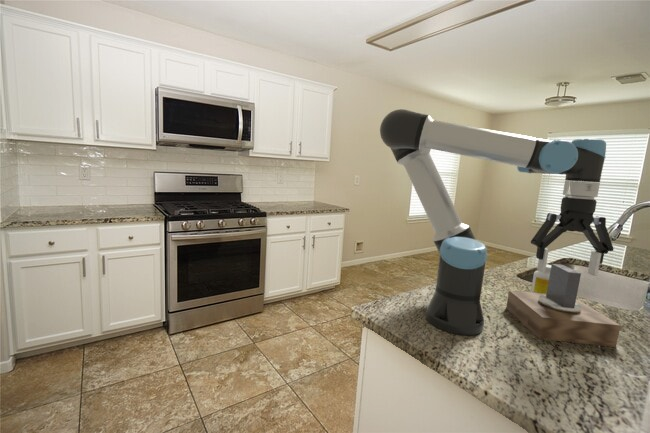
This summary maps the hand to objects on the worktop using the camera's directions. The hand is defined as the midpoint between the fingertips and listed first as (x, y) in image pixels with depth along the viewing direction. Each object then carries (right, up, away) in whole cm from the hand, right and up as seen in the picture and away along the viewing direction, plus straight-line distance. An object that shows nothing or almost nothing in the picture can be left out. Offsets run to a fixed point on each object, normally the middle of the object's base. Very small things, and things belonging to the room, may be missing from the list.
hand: (566, 272), depth 91 cm
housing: (-1, -16, +3) cm, 16 cm away
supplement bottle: (+6, -14, +21) cm, 26 cm away
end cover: (-1, -15, +2) cm, 15 cm away
